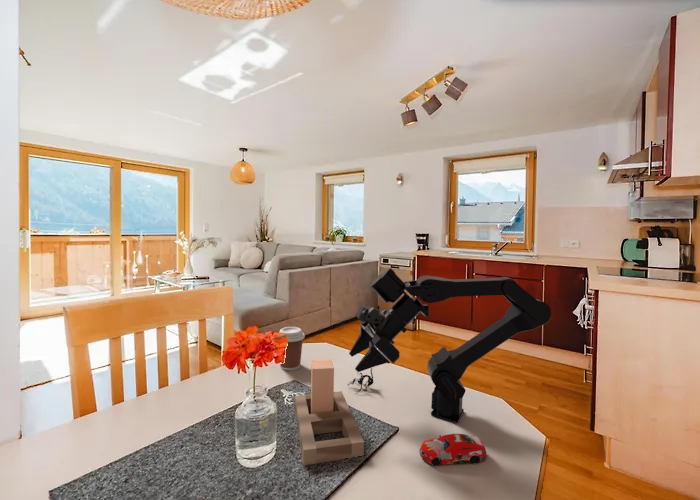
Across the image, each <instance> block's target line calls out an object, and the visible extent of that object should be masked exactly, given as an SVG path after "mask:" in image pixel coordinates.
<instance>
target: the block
mask: <svg viewBox="0 0 700 500" xmlns="http://www.w3.org/2000/svg"><path fill="white" fill-rule="evenodd" d="M310 362H311V365H310V366H311V373H310V375H311V377H310V378H311V380H310V381H311V382H310V384H311V385H310V392H311V393H310V394H311V410H310V414H317V413H325V412H334V408H333V400H334V392H335V390H334V385H335V366H334V362H333V359H319V360H318V359H317V360H316V359H315V360H313V359H312V360H311V361H310Z"/></svg>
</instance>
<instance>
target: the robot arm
mask: <svg viewBox="0 0 700 500" xmlns="http://www.w3.org/2000/svg"><path fill="white" fill-rule="evenodd" d="M369 287H370V288H371V289H372V290H373V292H375V294H377V295H378V296H379V297H380V298H381V300H383V302H385V303H388V302H389V303H391V304H393V305H392V306H391V307H390V308H389V309H387V308H385V309H382V310H381V311H380V310H379V309H378V308H377V309H376V308H375V307H374V306H373V307H371V306H368V305H366V304H364V303H360V305H359V307H358V310H357V311H356V313H355V316H356V317H357V319H358V321H359V320H360V321H359V323H360V324H359V335H358V337H357V339H356V340H355V342H354V344H353V345H352V347H351V349H350V350H349V352H348V353H349V356H350V357H354V356H356V355H358V354H360V353H361V352H363V351H366V350H367V349H368V351H366V353H365V355H364V356H363V357H362V358H361V360H360V361H359V362H358V364H357V365H356V366H355V368H354V369H355V371H356V373H361V372H362V371H366V370H369V369H371V368H372V369H373V368H374V367H378V366H381V365H385V364H390V363H392V364H393V365H394V364H395V363H396V362H397V361H398V360H399V359H400V352H401V351H400V350H399V349H398V348H397V347H396V345H394V344H395V341H394V339H396V338H397V337H398V335H399V334H401V333H403V334H405V333H406V332H407V329H406V327H407V326H408V325H409V324H410V323H411V322H412V321H413V320H414V319H415V318H416V317H417V316H418V315H419V314H420V313H421V314H422V315H423V316H424V317H426V318H429V317H430V313H429V312H430V311H429V309H430V305H428V304H434V303H435V304H436V303H439V302H444V301H446V300H449V299H452V298H457V297H480V296H481V297H483V296H485V297H486V296H503V297H504V298H505V299H506V301H507V302H509V303H510V305H509V306H508V308H507V311H506V312H505V314H504V315H503V316H502V317H501V318H499V320H497V321H495V322H494V323H492V324H491V325H490V326H487V327H486V328H485V329H484V330H482V331H480V332H479V333H477V334H476V335H474V337H472V338H470V339H469V340H467V341H466V342H464V343H463V344H462V345H460V346H459V347H457V348H455V349H451V350H448V349H447V347H446V346H443V347H441V348H440V349H439V350H438V351H437V352H435V353H432V354H431V355H430V356H431V358H429V359H428V361H427V365H426V366H427V367H426V369H427V372H428V374H429V377H430V379H431V381H432V384H433V385H434V388H433V391H432V393H431V406H430V407H431V409H432V410H431V412H430V413H431V416H433V417H436V418H439V419H442V420H445V421H449V422H452V423H455V424H458V423H459V422H460V419H461V417H462V416H463V413H464V410H465V409H464V408H463V398H464V396H465V394H466V392H467V391H466V388H465V386H464V385H463V383H462V381H461V380H460V379H462V377H463V376H464V374H465V372H466V370H467V368H468V367H469V366H470V365H472V364H474V363H475V362H476V361H478V360H479V359H481V358H483V357H485V356H486V355H488V354H489V353H491V351H493V350H494V349H496V348H498V347H499V346H500V345H502V344H503V343H505V342H507V341H508V340H509V339H511V338H512V337H515V335H517V334H520V333H522V332H529V331H533V330H535V329H538V328H540V327H542V326H545V325H546V324H548V322H549V321H550V320H551V319H552V308H551V307H550V306H549V304H548V303H546V302H545V301H542V300H540V299H537V298H535V297H534V296H533V295H532V294H530V293H529V292H528V291H527V290H525V289H524V288H523V287H522V286H520V284H518V283H517V282H516V280H514V279H513V278H510V277H506V276H500V277H488V278H487V277H486V278H465V279H464V278H461V279H453V278H452V279H451V278H444V277H440V276H433V275H421V276H420V277H418V279H416V280H408V281H403V280H402V279H401V278H400V277H399V276H398V275H397V273H396V272H395V271H394V269H393V268H392V267H388V269H387V270H385V271H384V272H382V273H381V274H379V275H378V276H377V277H376V278H375V279H373V281H372V282H371V283H370V285H369ZM409 295H410V296H409ZM411 296H413V297H411ZM418 298H420V300H421V301H423V302H421V301H420V300H419V299H418ZM423 303H426V304H423Z"/></svg>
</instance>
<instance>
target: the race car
mask: <svg viewBox="0 0 700 500" xmlns="http://www.w3.org/2000/svg"><path fill="white" fill-rule="evenodd" d="M419 455H420V457H421V459H422V460H423V461H424V462H425V463H428V464H429V465H432V466H433V467H437V466H438V467H440V466H441V465H442V466H444V465H445V466H446V465H460V464H462V465H463V464H471V465H472V464H478V463H479V462H480V463H482V462H484V461H485V460H486V459H487V450H486V447H485V444H484V443H483V442H482V440H481V439H480V438H479V437H477V436H474V435H470V434H465V433H449V434H444V435H441V434H439V436H438V437H437V438H433V439H428V440H424V441H423V442H422V444H421V445H420V448H419Z"/></svg>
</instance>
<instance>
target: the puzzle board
mask: <svg viewBox="0 0 700 500" xmlns="http://www.w3.org/2000/svg"><path fill="white" fill-rule="evenodd" d="M309 411H311V393H309V394H301V395H295V396H294V412H295V417H296V423H297V424H296V425H297V433H298V438H299V446H300V451H301V458H302V459H301V460H302V465H303V466H306V465H313V464H315V465H316V464H320V463H327V462H333V461H340V459H342V460H346V459H345V458H349V459H352V458H351V457H355V458H357V457H356V456H362V457H364V456H365V454H364V453H365V451H364V450H365V441H364V439H363V436H362V435H361V432H360V430H359V427H358V425H357V423H356V420H355V418H354V416H353V413H352V412H351V410H350V407H349V405H348V402H347V400H346V398H345V396H344V393H343V392H342V391H334V400H333V412H325V413H317V414H311V413H309ZM339 432H341V433H342V436H343V437H342V438H335V439H327V440H319V441H316V440H315V435H320V434H330V433H339ZM363 455H364V456H363Z"/></svg>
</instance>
